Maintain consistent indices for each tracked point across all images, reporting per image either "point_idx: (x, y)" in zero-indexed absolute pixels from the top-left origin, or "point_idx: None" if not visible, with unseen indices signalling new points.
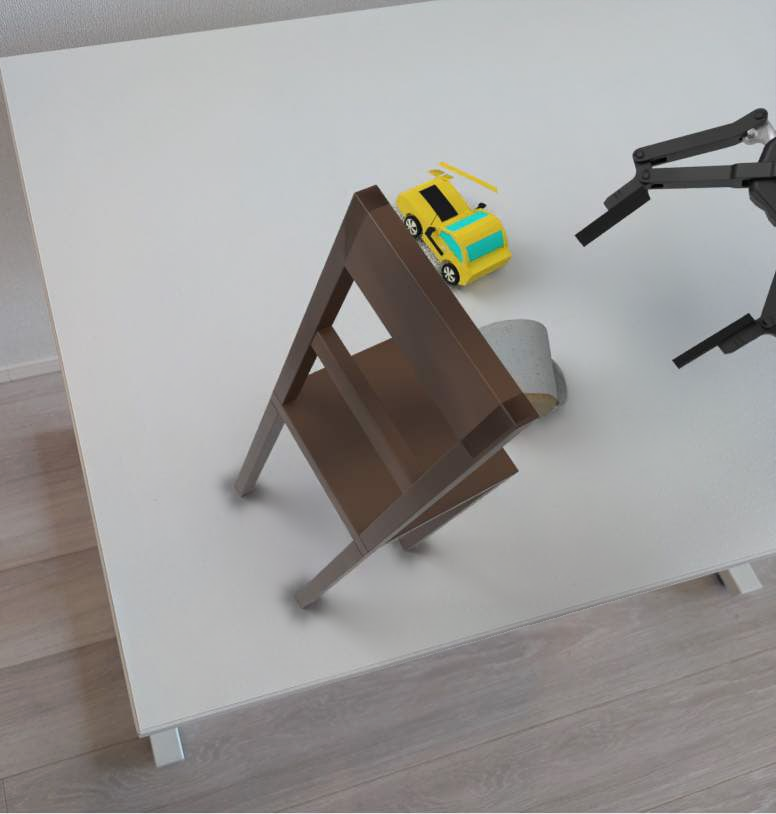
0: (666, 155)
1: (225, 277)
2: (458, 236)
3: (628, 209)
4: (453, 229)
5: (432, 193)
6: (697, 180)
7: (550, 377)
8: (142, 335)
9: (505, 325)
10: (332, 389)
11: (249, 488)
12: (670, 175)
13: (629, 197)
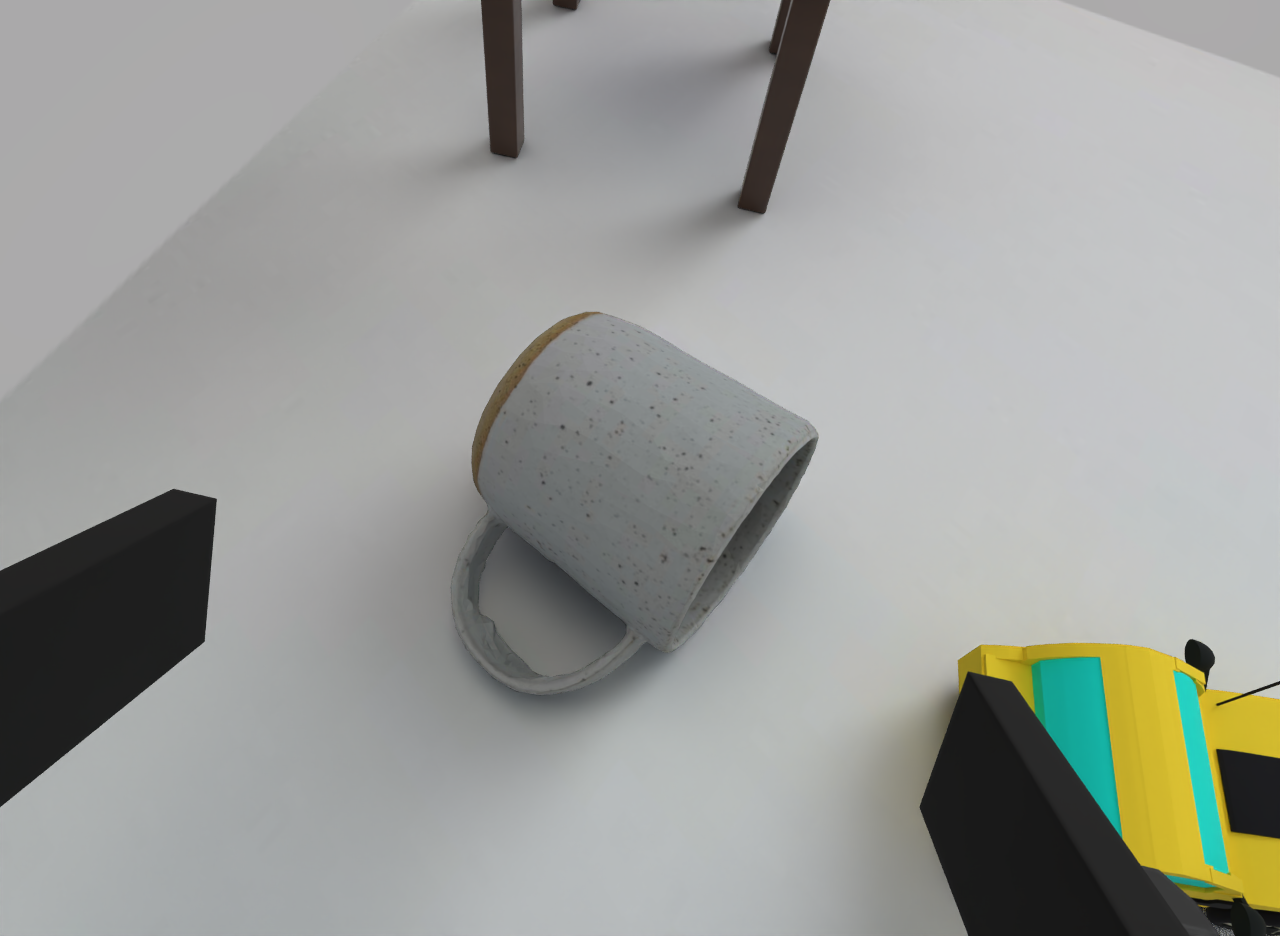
0: None
1: (1204, 272)
2: (1150, 661)
3: (1059, 930)
4: (1182, 686)
5: None
6: None
7: (552, 429)
8: (1128, 108)
9: (784, 427)
10: None
11: (777, 16)
12: None
13: (1163, 912)
